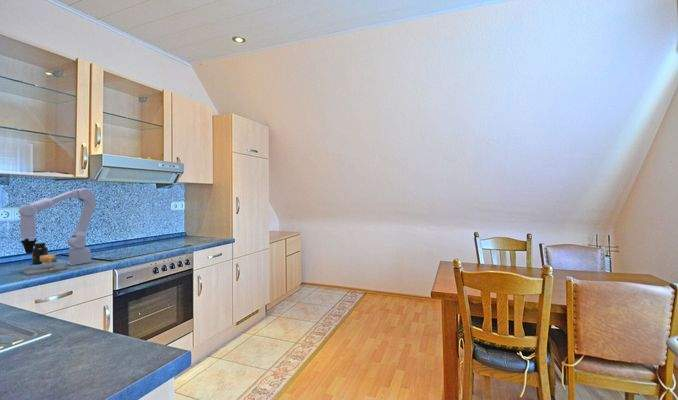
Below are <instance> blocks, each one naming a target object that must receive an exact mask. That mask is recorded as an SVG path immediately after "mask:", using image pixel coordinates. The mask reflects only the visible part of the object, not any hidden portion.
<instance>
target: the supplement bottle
mask: <svg viewBox="0 0 678 400" xmlns="http://www.w3.org/2000/svg"><path fill="white" fill-rule="evenodd" d="M48 254H49V249H48V247H47V245H46V242H35V244H34V247H33V251H32V253H31V259H32V260H31V264H32V265H42V261H40V256H42V255H48Z"/></svg>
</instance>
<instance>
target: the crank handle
mask: <svg viewBox="0 0 678 400" xmlns="http://www.w3.org/2000/svg"><path fill="white" fill-rule="evenodd" d="M57 259H58V257H56V253H55V254H54V253H51V254H49V253H48V255H42V256H40V261H50V262H52V263H53V264H54V263H57V262H58V260H57Z"/></svg>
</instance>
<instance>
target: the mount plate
mask: <svg viewBox="0 0 678 400" xmlns="http://www.w3.org/2000/svg"><path fill="white" fill-rule="evenodd" d="M67 270H68V267H67V266H64V265H63V264H54V262H53V263H52V262H50V261H42V264H41V266H38V267H32V268H24V269H21V273H22V274H24V275H25V274H26V275H25V276H27V277H29V276H30V275H32V276H36V275H37V274H38V275H43V274H48V273H54V272H55V273H56V272H61V271H67Z"/></svg>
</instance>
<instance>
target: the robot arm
mask: <svg viewBox="0 0 678 400" xmlns="http://www.w3.org/2000/svg"><path fill="white" fill-rule="evenodd" d="M74 198H75V199H77V200H79V201H80V202H81V203H82V204H83V208H82V210H81V213H80V216H79V220H78V222H77V224H76V227H75V230H74V231H73V233H72V234H71V236H70V237H69V238H68V240H67V245H68V246H69V247H68V262H66V264H67V265H69V266H75V265H82V264H88V263H92V254H91V248H90V247H88V246H86V244H87V240H86V238H87V231H88V228H89V225H90V222H91V220H92V217H93V214H94V211H95V209H96V205H97V202H96V198H95V194H94V192H93V191H92V190H91V189H89V188H87V187H86V188H85V187H84V188H77V189H73V190H68V191H65V192H63V193H61V194H59V195H57V196H53V197H51V198H47V197H45V198H43V197H41V198H39V199H38V200H35V201H33V202H31V201H30V202H29V203H28V204H25V205H21V206H20V207H19V208H18V210H17V211H18V214H19V215H20V216H19V225H20V226H19V230H20V236H17V239H23V240H20V243H21V244H22V247H23V248H24V252H25V254H27V255H28V254H32V251H33V248H35V247H34V244H35V243H37V239H36V238H37V234H36V233H37V229H36V213H41V212H43V211H45V210H49V209H50V208H53V205H54V204H57V203H60V202H62V201H65V200H68V199H74Z"/></svg>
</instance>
